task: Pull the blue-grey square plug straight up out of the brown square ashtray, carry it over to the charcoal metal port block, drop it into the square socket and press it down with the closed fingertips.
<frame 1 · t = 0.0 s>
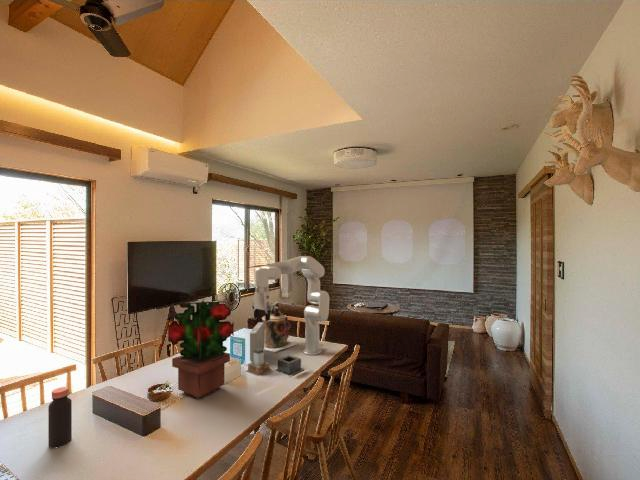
hand: (261, 319, 182), 31 cm above the table, tool pointing down, fingers open, 9 cm apart
cookie jar: (275, 345, 231), on the table
bottle: (60, 443, 120), on the table
potted plant: (201, 391, 161), on the table
port block: (289, 371, 185), on the table
brown square ashtray: (258, 372, 184), on the table
network device: (257, 357, 207), on the table
plug: (258, 370, 184), point 1 cm above the table, touching brown square ashtray
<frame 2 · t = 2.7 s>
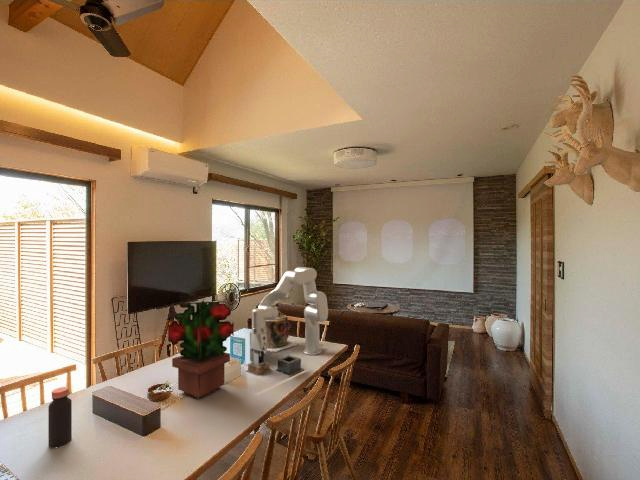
hand: (258, 361, 184), 6 cm above the table, tool pointing down, fingers closed on plug, 4 cm apart
plug: (258, 370, 184), point 1 cm above the table, touching gripper, brown square ashtray
everything else where it was.
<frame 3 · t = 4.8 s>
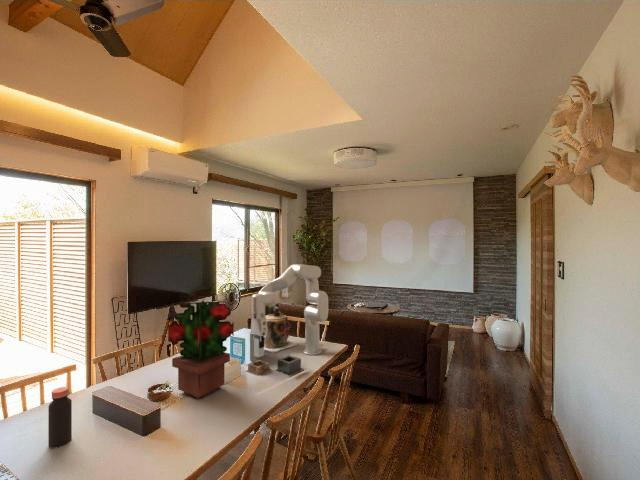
hand: (258, 346, 184), 15 cm above the table, tool pointing down, fingers closed on plug, 4 cm apart
plug: (259, 355, 184), point 10 cm above the table, touching gripper
everything else where it was.
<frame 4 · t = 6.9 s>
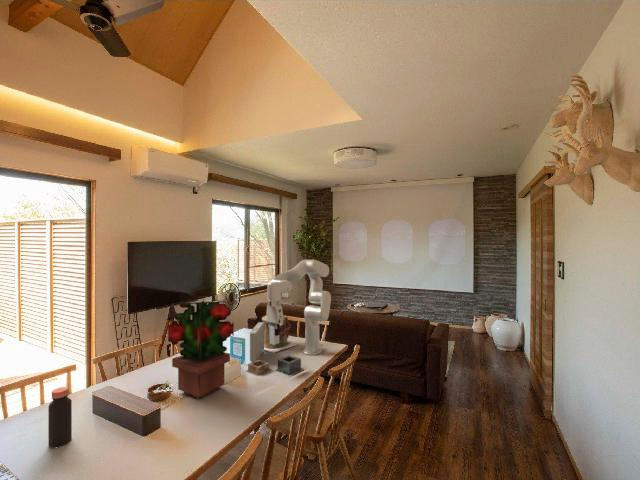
hand: (274, 334, 185), 22 cm above the table, tool pointing down, fingers closed on plug, 4 cm apart
plug: (274, 343, 185), point 16 cm above the table, touching gripper
everything else where it was.
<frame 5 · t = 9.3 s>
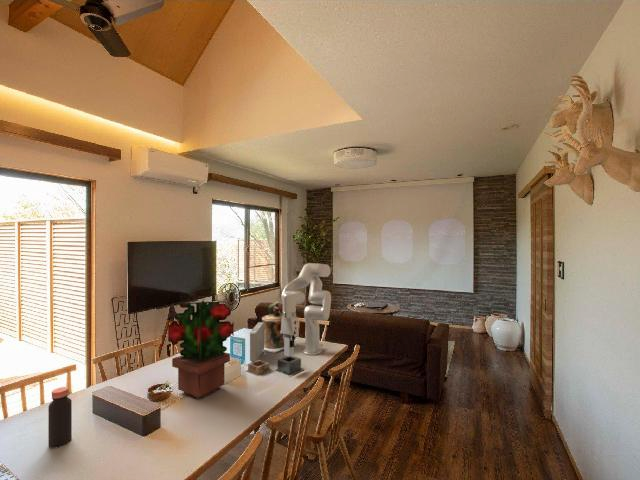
hand: (289, 345, 185), 15 cm above the table, tool pointing down, fingers closed on plug, 4 cm apart
plug: (289, 354, 185), point 10 cm above the table, touching gripper
everything else where it was.
when the fingers open (8 cm above the table, at t = 11.2 s): plug drops 2 cm, resting on port block.
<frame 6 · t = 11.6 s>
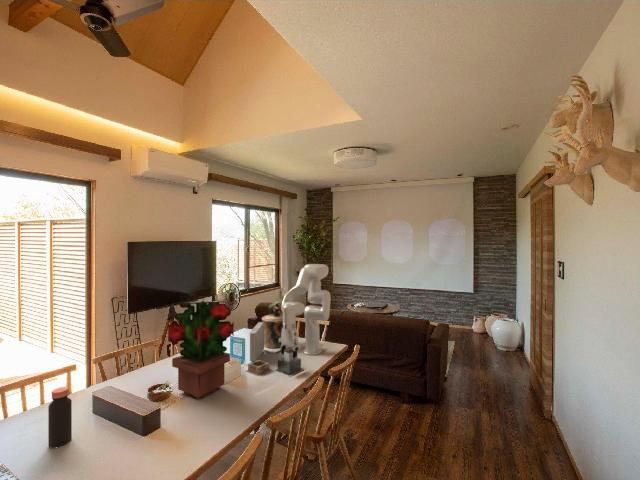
hand: (289, 355, 185), 9 cm above the table, tool pointing down, fingers open, 8 cm apart
plug: (289, 369, 185), point 1 cm above the table, touching port block
everything else where it was.
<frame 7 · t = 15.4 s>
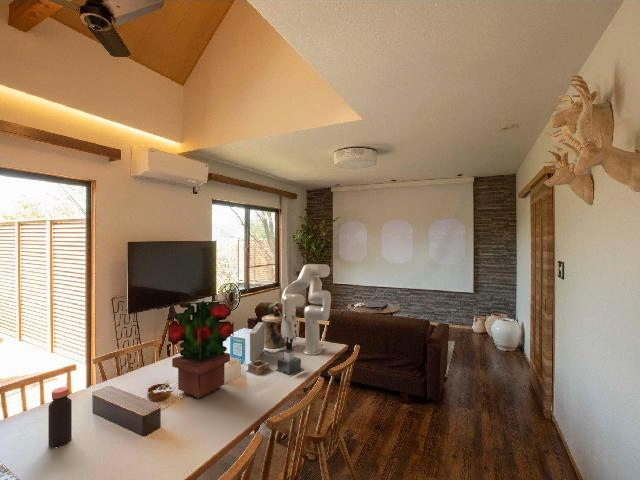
hand: (289, 348, 185), 13 cm above the table, tool pointing down, fingers closed
plug: (289, 369, 185), point 1 cm above the table, touching gripper, port block
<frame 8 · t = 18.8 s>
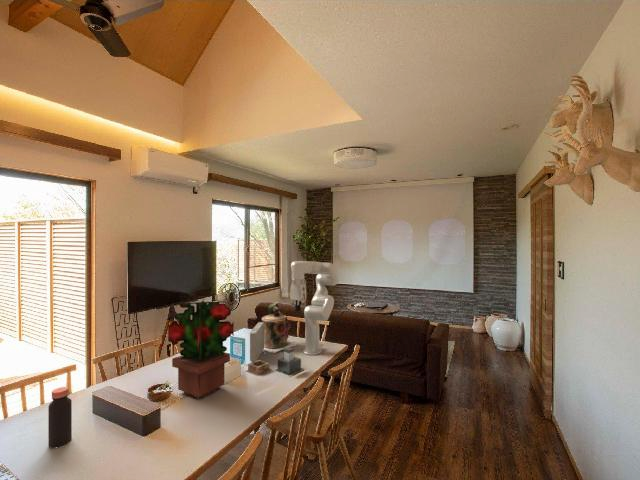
hand: (297, 311, 198), 32 cm above the table, tool pointing down, fingers closed
plug: (289, 369, 185), point 1 cm above the table, touching port block
at the end: plug 0.1 cm off-centre on the port block, point 1.0 cm above the port block's base; plug tilted 0°; the gripper is holding nothing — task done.
